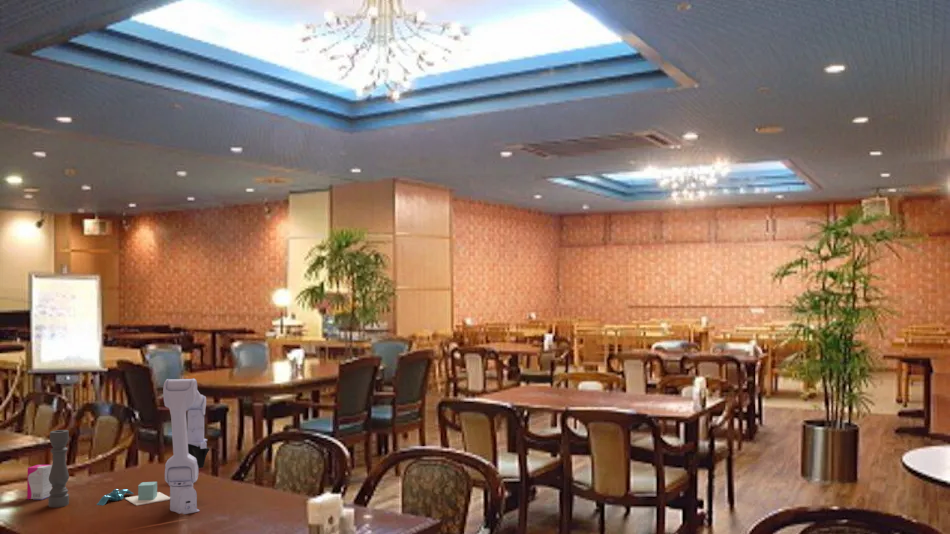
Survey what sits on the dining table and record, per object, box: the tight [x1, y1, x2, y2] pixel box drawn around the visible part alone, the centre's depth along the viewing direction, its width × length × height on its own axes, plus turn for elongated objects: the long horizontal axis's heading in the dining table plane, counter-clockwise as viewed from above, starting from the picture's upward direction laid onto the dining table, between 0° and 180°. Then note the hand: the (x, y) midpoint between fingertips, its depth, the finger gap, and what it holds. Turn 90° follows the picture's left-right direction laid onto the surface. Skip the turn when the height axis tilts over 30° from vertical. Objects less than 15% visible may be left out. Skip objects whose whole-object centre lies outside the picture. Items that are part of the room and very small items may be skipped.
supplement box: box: [26, 464, 52, 501], centre depth 279 cm, size 6×6×12 cm
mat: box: [124, 491, 170, 507], centre depth 277 cm, size 12×12×1 cm
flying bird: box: [96, 488, 134, 506], centre depth 278 cm, size 15×7×4 cm, turn 163°
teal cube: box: [137, 481, 158, 500], centre depth 277 cm, size 5×5×5 cm
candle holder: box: [47, 429, 70, 508], centre depth 270 cm, size 6×6×25 cm
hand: (195, 466), depth 287 cm, fingers open, 7 cm apart
